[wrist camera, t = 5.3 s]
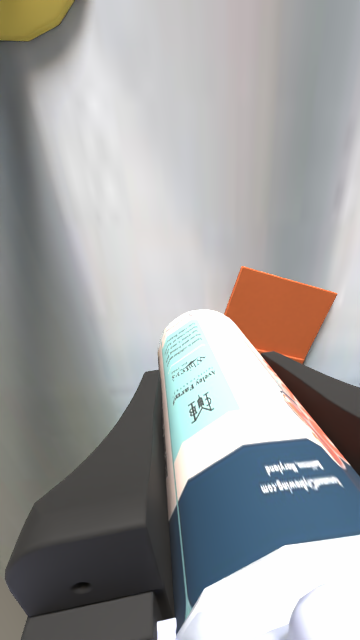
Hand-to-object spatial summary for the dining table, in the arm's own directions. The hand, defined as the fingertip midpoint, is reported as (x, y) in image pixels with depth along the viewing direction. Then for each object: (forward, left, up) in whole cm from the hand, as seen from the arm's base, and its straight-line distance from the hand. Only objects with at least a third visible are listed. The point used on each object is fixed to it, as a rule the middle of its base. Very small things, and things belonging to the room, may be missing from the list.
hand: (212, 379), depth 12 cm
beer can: (0, 0, -4) cm, 4 cm away
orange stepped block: (-8, +2, -10) cm, 13 cm away
